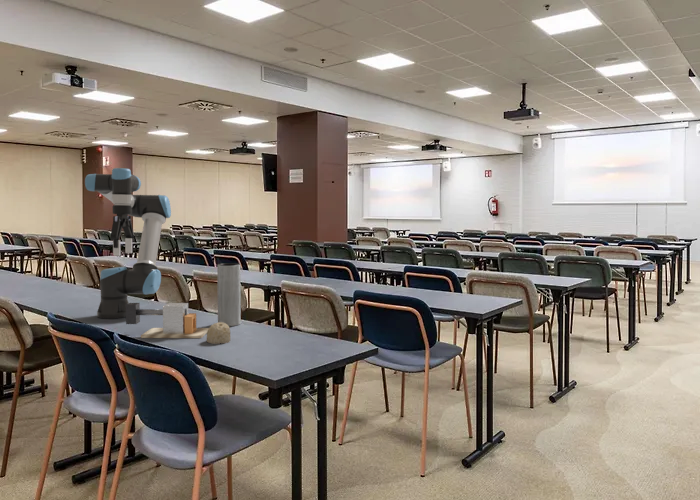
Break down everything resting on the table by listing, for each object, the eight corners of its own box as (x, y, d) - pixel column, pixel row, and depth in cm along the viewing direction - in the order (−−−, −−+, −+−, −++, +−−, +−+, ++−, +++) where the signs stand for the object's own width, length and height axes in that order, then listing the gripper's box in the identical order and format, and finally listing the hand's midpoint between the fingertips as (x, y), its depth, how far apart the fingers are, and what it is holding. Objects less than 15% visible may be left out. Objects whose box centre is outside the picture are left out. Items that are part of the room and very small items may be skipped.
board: (140, 337, 218) (140, 335, 218) (152, 330, 232) (152, 327, 232) (201, 338, 219) (201, 335, 219) (209, 330, 233) (209, 328, 233)
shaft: (126, 324, 222) (125, 304, 222) (130, 321, 227) (129, 302, 226) (180, 324, 223) (180, 304, 222) (183, 322, 227) (183, 303, 227)
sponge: (231, 351, 214) (238, 328, 219) (220, 342, 206) (228, 318, 211) (210, 349, 217) (218, 326, 222) (199, 340, 209) (207, 316, 214)
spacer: (184, 333, 222) (184, 316, 221) (189, 329, 229) (189, 313, 228) (192, 333, 222) (191, 316, 221) (196, 329, 229) (196, 313, 228)
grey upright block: (163, 333, 221) (162, 306, 220) (169, 329, 229) (168, 303, 228) (183, 333, 221) (182, 306, 221) (188, 329, 229) (188, 303, 229)
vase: (239, 321, 252) (238, 263, 250) (241, 325, 243) (241, 265, 241) (216, 322, 249) (216, 263, 247) (218, 327, 240) (218, 265, 238)
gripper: (124, 204, 246) (125, 251, 247) (100, 204, 221) (102, 256, 223) (141, 205, 246) (141, 252, 248) (119, 204, 221) (120, 257, 223)
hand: (123, 254), depth 235 cm, fingers open, 13 cm apart
